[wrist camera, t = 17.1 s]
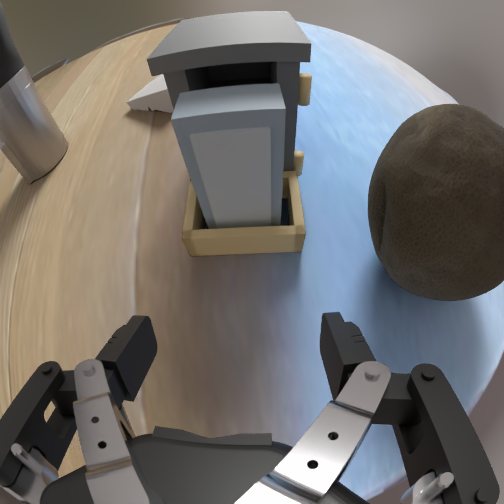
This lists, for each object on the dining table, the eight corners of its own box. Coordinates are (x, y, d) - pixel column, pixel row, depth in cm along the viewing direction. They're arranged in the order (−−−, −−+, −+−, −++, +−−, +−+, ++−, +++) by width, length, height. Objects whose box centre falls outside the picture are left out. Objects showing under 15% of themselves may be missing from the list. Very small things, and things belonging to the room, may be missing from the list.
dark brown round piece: (451, 348, 18) (583, 288, 5) (323, 277, 22) (385, 129, 9) (473, 232, 23) (546, 144, 9) (374, 173, 27) (414, 53, 13)
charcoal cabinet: (205, 131, 31) (181, 20, 17) (289, 127, 31) (293, 11, 17) (189, 256, 23) (111, 108, 10) (309, 251, 23) (348, 87, 9)
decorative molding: (139, 123, 39) (180, 115, 34) (126, 102, 35) (166, 89, 30) (231, 49, 52) (268, 42, 47) (225, 33, 48) (262, 25, 44)
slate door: (213, 211, 26) (179, 92, 14) (276, 207, 25) (279, 83, 14) (212, 241, 24) (170, 121, 12) (279, 236, 24) (286, 110, 12)
